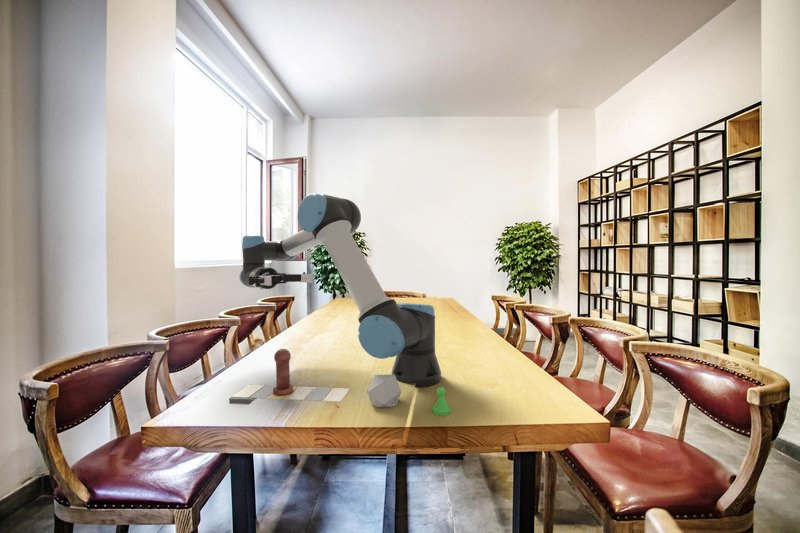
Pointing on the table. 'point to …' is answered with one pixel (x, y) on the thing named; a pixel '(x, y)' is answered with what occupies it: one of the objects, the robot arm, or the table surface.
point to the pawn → (282, 373)
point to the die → (384, 391)
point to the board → (299, 394)
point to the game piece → (441, 404)
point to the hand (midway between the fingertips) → (292, 279)
